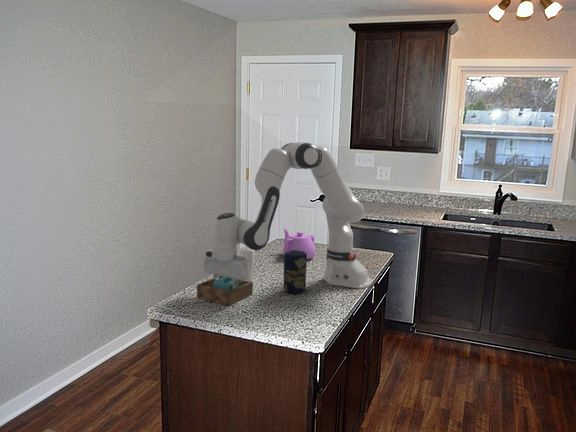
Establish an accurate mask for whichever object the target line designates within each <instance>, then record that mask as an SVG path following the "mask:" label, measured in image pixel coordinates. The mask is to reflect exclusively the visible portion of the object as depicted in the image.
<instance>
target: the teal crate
mask: <svg viewBox="0 0 576 432" xmlns="http://www.w3.org/2000/svg"><path fill="white" fill-rule="evenodd" d="M233 282H234V281H232V278H228V277H223V278H220V279H218V280H216V281H213V288H217V289H221V290H225V291H231V290H233V289H231V288H230V284H232V283H233ZM238 287H239V280H238V281H237V283H236V288H238ZM236 288H235V289H236Z"/></svg>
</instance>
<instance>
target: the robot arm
mask: <svg viewBox="0 0 576 432" xmlns="http://www.w3.org/2000/svg"><path fill="white" fill-rule="evenodd" d="M291 168H292V169H296V170H301V169H302V170H303V169H305V170H309V169H310V171H311V173H312V176H313V177H314V179H315V181H316V184H317V186H318V188H319V190H320V192H321V193H322V195H324V196H325V198H323V201H322V209H323V211H324V213H325V217H326V223H327V228H328V229H327V230H328V245H327V247H328V248H327V249H326V264H325V265H326V266H325V270H324V271H325V272H324V274H323V276H322V279H323V280H324V281H325V282H326V283H327V284H328V285H331V286H338V287H345V288H352V289H354V288H355V289H360V290H362V289H365V288H369V287H370V286H372V284H373V279H372V278H369V277H368V274H369V273H368V270H367V268H366V267H365V266H364V264H362V263H361V262H360V261H359V260H357V259H356V258H357V255H358V252H355V251H354V250H353V247H354V246H353V244H354V232H353V230H352V228H351V225H350V223H351V224H354V223H355V224H356V223H358V222H360V221H361V220H362V218H364V214H365V207H364V205H363V204H362V203H361V202H360V201H359V200H358V199H357V197H356V196H355V195H354V193H353V191H352V190H351V189H350V187H349V186H348V185H347V183H346V182H345V180H344V178H343V176H342V173H341V172H340V169H339V167H338V165H337V162H336V161H335V159H334V158H333V155H332V154H331V152H330V151H329V150H328V149H327V147H325V146H316V145H314V144H312V143H310V142H301V141H299V142H290V143H287V144H285V145H283V146H282V147H281V148H278V147H274V148H272V149H270V150H269V151H268V152H267V154H266V156H265V157H264V159H263V160H262V161H261V163H260V166H259V167H258V170H257V173H256V174H255V179H254V186H255V189H256V191H257V192H258V193H259V194H260V196H261V205H260V208H259V211H258V214H257V217H256V220H255V221H254V222H253V221H251V220H248V219H244V218H242V217H239V216H238V215H236V214H235V213H234V212H225V213H222V214H219V215H218V216H217V218H216V220H215V226H214V238H215V244H214V248H210V249H208V250H206V251H204V252H203V253H204V256H205V257H204V258H203V265H202V266H203V269H202V270H203V272H205V273H206V274H211V275H213V276H212V277H213V278H214V279H215V281H216V280H218V279H219V277H218V276H223V277H228V278H232V281H234V282H233V283H232V284H230V288H231V289H235V288H236V283H237V281H238V280H241V281H243V280H246V279H247V278H248V266H247V260H246V259H245V258H244V257H239V255H238V245H239V244H242V245H244V246H245V247H249V248H250V249H252V250H254V251H259V250H261V249H264V248H265V247H266V246H267V244H268V243H269V240H270V236H271V235H270V234H271V233H270V232H271V226H272V224H273V223H272V222H273V220H274V217H275V214H276V211H277V208H278V205H279V202H280V197H281V194H280V193H281V192H280V191H281V188H282V184H283V182H284V179H285V177H286V175H287V173H288V172H289V170H290V169H291Z"/></svg>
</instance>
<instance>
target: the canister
mask: <svg viewBox="0 0 576 432" xmlns="http://www.w3.org/2000/svg"><path fill="white" fill-rule="evenodd" d="M283 256H284V258H283V285H282V286H283V287H282V289H283V290H284V291H285V292H287V293H288V294H289V293H290V294H301V293H303V292H305V290H306V287H307V286H306V280H307V267H308V266H307V261H308V259H307V254H306V253H305V252H303V251H297V250H292V251H287V252H286V253H285V255H283Z"/></svg>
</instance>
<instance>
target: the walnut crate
mask: <svg viewBox="0 0 576 432" xmlns="http://www.w3.org/2000/svg"><path fill="white" fill-rule="evenodd" d="M218 277H219V279H220V278H223V276H218ZM213 281H215V279H214V277H213V278H210V279H208V280H205V281H203V282H201V283H198V284H197V285H196V286H197V287H196V299H200V300H204V301H209V302H212V303H215V304H219V305H223V306H226V307H227V306H228V307H232V306H233V305H235V304H236V303H239V302H240V301H241V302H242V301H243V300H244V299H247V298H248V297H251V296H253V294H254V293H253V289H254V288H253V287H254V286H253V284H254V281H246V280H243V281H241V280H239V287H238V288H236V289H233V290H231V291H225V290H221V289H217V288H213Z"/></svg>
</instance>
